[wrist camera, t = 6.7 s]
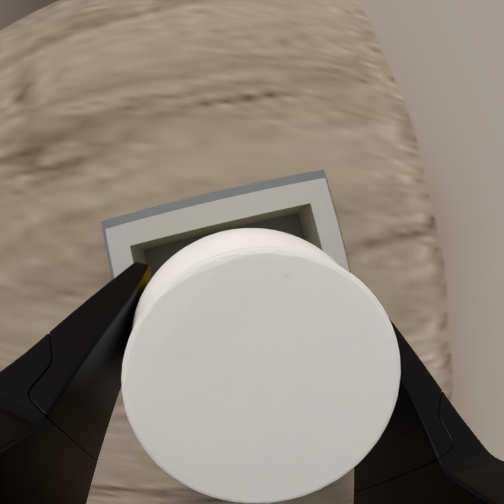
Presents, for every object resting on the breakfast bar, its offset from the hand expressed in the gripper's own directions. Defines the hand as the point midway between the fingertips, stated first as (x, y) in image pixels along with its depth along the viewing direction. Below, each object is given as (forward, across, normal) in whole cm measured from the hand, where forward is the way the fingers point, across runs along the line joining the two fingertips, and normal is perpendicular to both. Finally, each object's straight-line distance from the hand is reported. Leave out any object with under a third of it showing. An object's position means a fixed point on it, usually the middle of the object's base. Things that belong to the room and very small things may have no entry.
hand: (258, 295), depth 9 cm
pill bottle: (+4, 0, +6) cm, 7 cm away
